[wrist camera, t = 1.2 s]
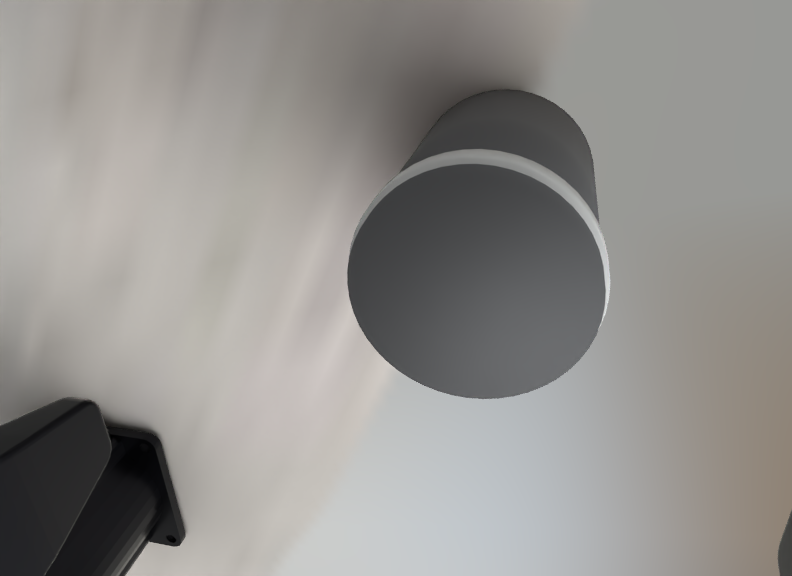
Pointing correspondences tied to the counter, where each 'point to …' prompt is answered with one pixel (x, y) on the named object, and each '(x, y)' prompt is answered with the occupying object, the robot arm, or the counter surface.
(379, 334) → the lens
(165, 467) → the robot arm
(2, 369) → the counter surface
